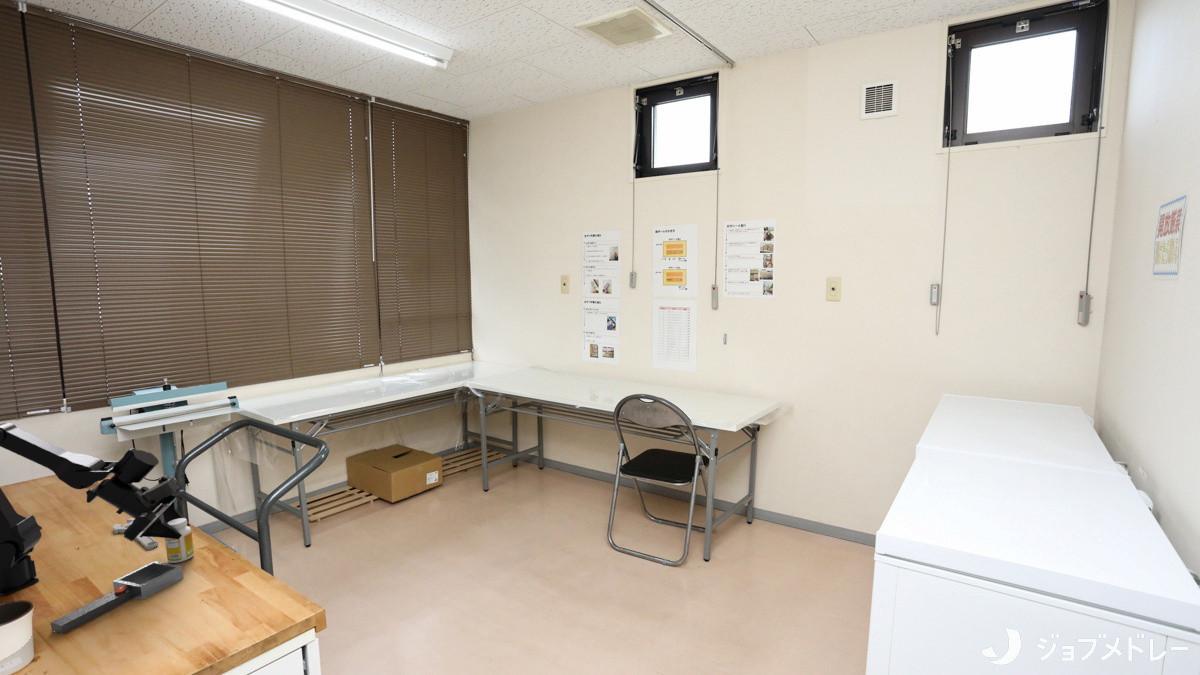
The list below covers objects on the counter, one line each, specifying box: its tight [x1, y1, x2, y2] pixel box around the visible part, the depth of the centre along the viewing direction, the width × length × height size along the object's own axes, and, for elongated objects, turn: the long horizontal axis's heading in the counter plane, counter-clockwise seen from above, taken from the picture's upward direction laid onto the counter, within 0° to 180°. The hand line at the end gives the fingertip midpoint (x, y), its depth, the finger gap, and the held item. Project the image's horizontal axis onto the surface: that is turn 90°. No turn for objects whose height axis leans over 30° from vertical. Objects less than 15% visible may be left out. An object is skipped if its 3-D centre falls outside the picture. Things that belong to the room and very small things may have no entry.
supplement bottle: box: [164, 517, 195, 564], centre depth 141 cm, size 5×5×10 cm
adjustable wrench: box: [112, 517, 159, 550], centre depth 155 cm, size 25×6×2 cm, turn 49°
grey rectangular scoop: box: [50, 560, 184, 635], centre depth 124 cm, size 22×9×3 cm, turn 162°
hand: (184, 532), depth 142 cm, fingers closed on supplement bottle, 5 cm apart
